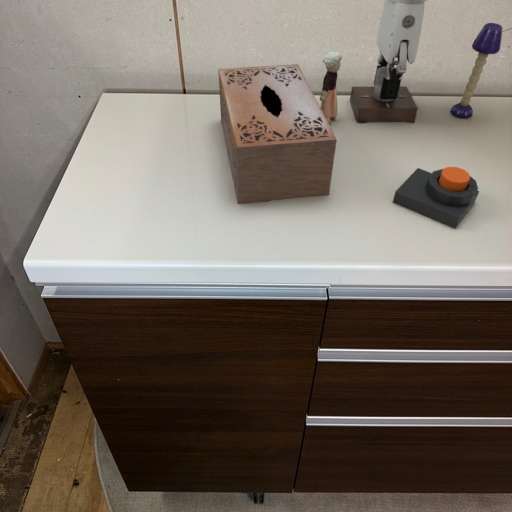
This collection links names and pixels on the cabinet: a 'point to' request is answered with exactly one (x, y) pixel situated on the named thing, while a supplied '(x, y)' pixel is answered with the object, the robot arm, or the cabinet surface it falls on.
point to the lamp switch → (454, 179)
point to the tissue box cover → (275, 134)
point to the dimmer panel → (382, 106)
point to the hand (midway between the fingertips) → (385, 91)
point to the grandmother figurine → (330, 86)
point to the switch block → (435, 197)
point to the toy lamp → (478, 65)
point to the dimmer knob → (380, 84)
